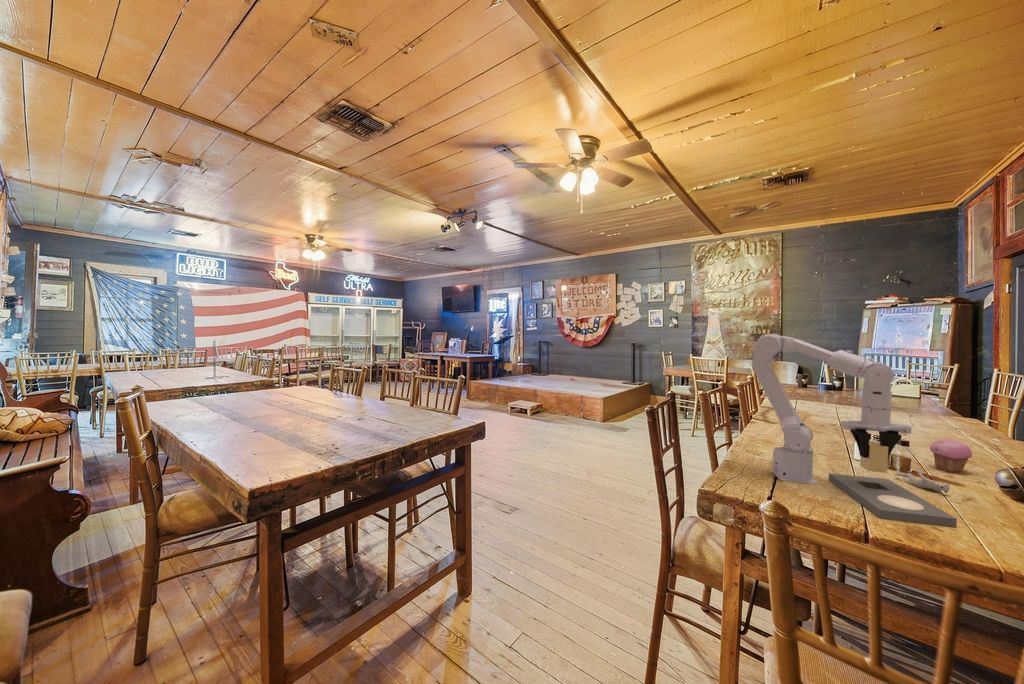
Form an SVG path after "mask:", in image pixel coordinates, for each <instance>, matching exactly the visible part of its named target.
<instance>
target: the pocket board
mask: <svg viewBox="0 0 1024 684" xmlns="http://www.w3.org/2000/svg"><path fill="white" fill-rule="evenodd" d="M828 481H829V482H830V483H832V484H833V485H835V486H836V487H837V488H839V489H840V490H841V491H843V492H844V493H845V494H847V495H848V496H849V497H851V499H853V500H854V501H856V502H857V503H858V504H860V505H861V506H862V507H864V508H865V510H868V511H869V512H870V513H872V514H873V515H874V516H876V517H877V518H878V519H879V520H881V519H882V520H889V521H898V522H904V523H905V522H906V523H914V524H923V525H930V526H941V527H947V528H955V529H956V528H957V522H958V521H957V520H958V518H956V517H954V516H953V515H951V514H949V513H947V512H946V511H944V510H943V509H942V508H939V507H937V506H936V505H934V504H932V503H930V502H928V501H926V500H925V499H924V498H922V497H920V496H919V495H916V494H915V493H913V492H911V491H910V490H908V489H906V488H904V487H903V486H901V485H899V484H898V483H895V482H894V481H892V480H891V479H889V478H881V477H880V478H879V477H870V476H860V475H850V474H849V475H848V474H840V473H828Z"/></svg>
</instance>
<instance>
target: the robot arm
mask: <svg viewBox="0 0 1024 684" xmlns="http://www.w3.org/2000/svg"><path fill="white" fill-rule="evenodd" d="M790 352H791V353H792V352H793V353H794V352H797V353H798V354H799V353H800V354H803V355H804V356H805V355H806V356H809V357H811V358H814V359H818V360H819V361H823V362H826V363H828V366H829V368H830V369H832V370H835V371H837V372H840V373H843V374H845V375H848V376H851V377H854V378H857V379H860V378H861V379H862V378H863V381H864V382H863V383H864V384H863V388H862V393H861V394H862V395H861V414H860V415H861V419H860V421H859V420H852V421H851V420H849V421H846V420H841V421H840V428H841V429H843V430H850V433H851V435H852V437H853V438H854V440H855V443H856V445H857V447H858V448H857V449H858V452H859V456H860V457H861V456H862V457H864V458H867V456H868V444H869V442H870V440H871V437H872V434H871V433H869V431H870V432H878V435H879V443H882V444H884V445H886V446H888V460H889V458H890V456H891V453H892V451H893V450H894V448H895V446H896V445H897V444H898V442H899V441H901V440H902V437H903V435H902V434H906V435H911V434H912V426H910V425H907V424H899V423H898V424H897V423H891V417H892V416H891V414H892V411H891V410H892V397H893V395H892V391H891V390H892V382H893V380H894V377H895V376H894V373H893V371H892V369H891V368H890V366H889V365H887V364H885V363H883V362H881V361H875V359H874V358H872V357H869V358H866V357H863V356H860V355H857V354H854V353H853V350H850V349H847V350H843V349H839V350H837V351H836V350H835V351H831V350H828V349H825V348H822V347H821V346H817V345H815V344H812V343H809V342H806V341H804V340H801V339H799V338H794V337H790V336H785V335H781V334H778V333H766V334H765V333H764V334H763V335H761V336H760V337H758V339H757V340H756V342H755V344H754V346H753V355H752V361H751V369H752V371H754V374H755V376H756V378H757V380H758V382H759V383H760V385H761V387H762V390H763V392H764V393H765V395H766V397H767V399H768V401H769V403H770V405H771V406H772V409H773V410H774V413H775V414H776V416H777V418H778V421H779V423H780V427H781V430H782V433H783V441H784V444H783V446H780V447H779V446H778V447H774V449H773V452H772V470H771V473H773V474H774V476H775V477H777V478H778V479H779V480H780V481H781V482H782V481H789V482H797V483H798V482H800V483H808V484H816V485H817V484H819V482H818V481H817V480H816V479H814V477H813V471H814V470H813V469H814V468H813V467H814V461H813V460H814V448H813V447H811V442H812V441H813V438H814V433H813V431H812V429H811V428H810V427H809V426H807V425H806V424H805V423H804V422H803V420H802V418H801V417H800V416H799V414H798V413H797V412H796V410H795V408H794V406H793V404H792V402H791V400H790V399H789V397H788V395H787V393H786V391H785V390H784V387H783V386H782V384H781V381H780V380H779V378H778V376H777V375H776V372H775V371H774V369H773V367H772V366H773V364H774V363H775V360H776V358H777V356H779V355H780V354H781V353H790Z"/></svg>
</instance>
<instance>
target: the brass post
mask: <svg viewBox="0 0 1024 684" xmlns="http://www.w3.org/2000/svg"><path fill="white" fill-rule="evenodd" d="M859 458H860V459H859V462H860V464H859V466H860V467H861V468H863V469H865V470H866V471H867V472H874V473H875V472H876V473H883V474H884V473H888V467H889V465H888V462H889V461H888V460H889V459H888V446H886V445H884V444H882V443H880V441H878V442H877V441H869V444H868V456H867V458H864V457H862V456H860V457H859Z"/></svg>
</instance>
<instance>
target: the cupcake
mask: <svg viewBox="0 0 1024 684" xmlns="http://www.w3.org/2000/svg"><path fill="white" fill-rule="evenodd" d="M971 449H972V448H970V447H969V446H968V445H967V444H965V443H963V442H962V441H958V440H954V439H951V438H950V439H949V438H947V439H946V438H942V439H940V438H939V439H938V440H936V441H934V442H933V443H932V444H930V446H929V450H930V452H932V453H933V454H932V455H933V458H934V466H935V468H936V469H939V470H940V469H941V470H940V471H945V472H949V473H955V472H958V473H962V472H963V471H964V468H965V466H966V464H967V462H968V461H969V459H971V458H972V457H973V452H972V450H971Z"/></svg>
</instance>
